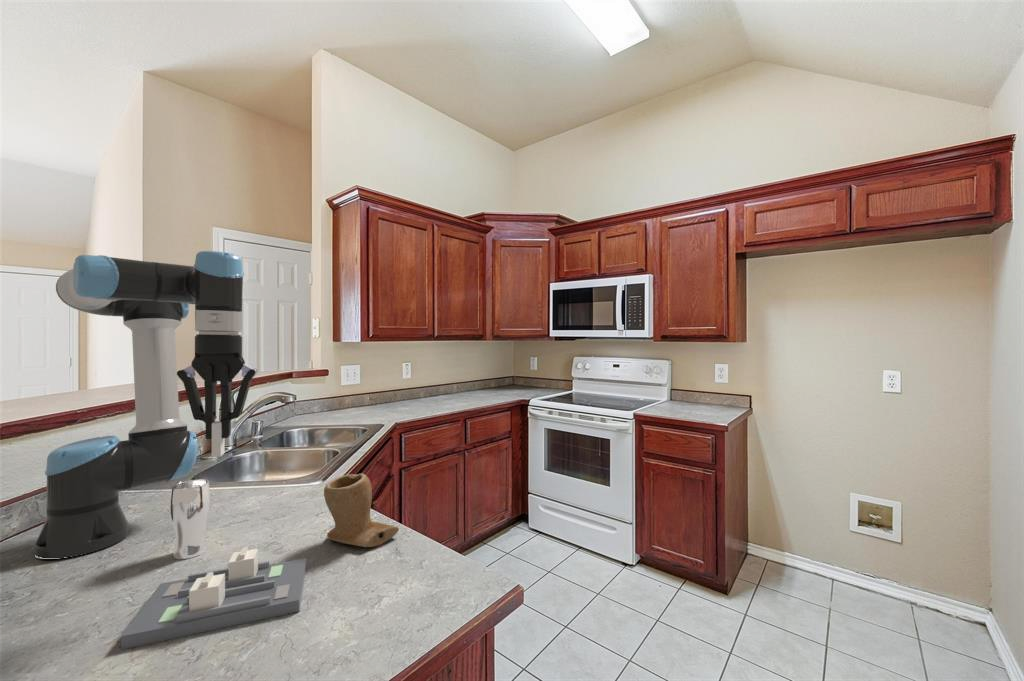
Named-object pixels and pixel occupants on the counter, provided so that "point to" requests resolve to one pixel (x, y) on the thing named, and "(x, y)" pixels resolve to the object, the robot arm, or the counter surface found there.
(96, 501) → the robot arm
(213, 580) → the tab
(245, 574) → the tab
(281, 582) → the switch board
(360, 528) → the clay platform pipe
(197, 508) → the beer glass
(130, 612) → the counter surface
